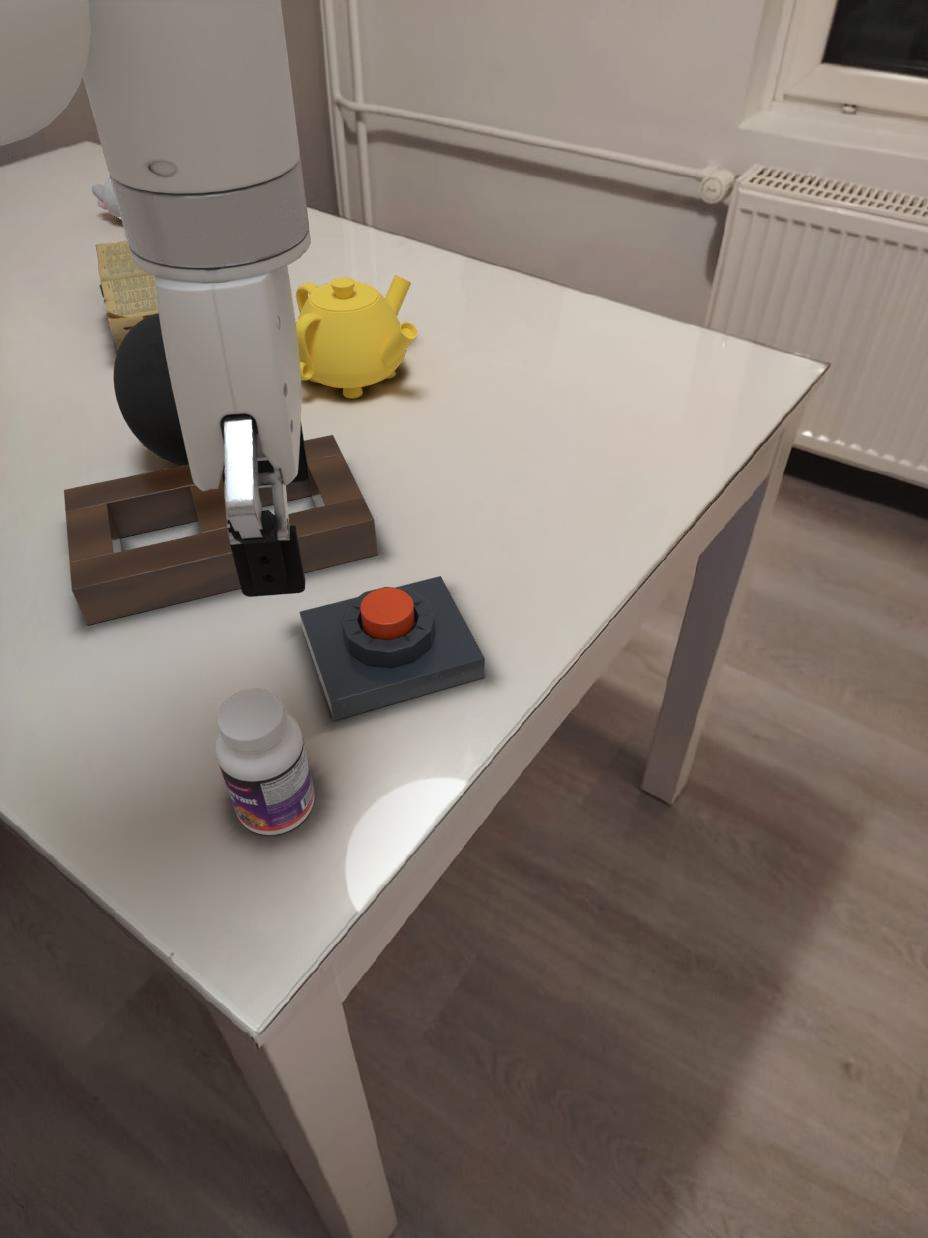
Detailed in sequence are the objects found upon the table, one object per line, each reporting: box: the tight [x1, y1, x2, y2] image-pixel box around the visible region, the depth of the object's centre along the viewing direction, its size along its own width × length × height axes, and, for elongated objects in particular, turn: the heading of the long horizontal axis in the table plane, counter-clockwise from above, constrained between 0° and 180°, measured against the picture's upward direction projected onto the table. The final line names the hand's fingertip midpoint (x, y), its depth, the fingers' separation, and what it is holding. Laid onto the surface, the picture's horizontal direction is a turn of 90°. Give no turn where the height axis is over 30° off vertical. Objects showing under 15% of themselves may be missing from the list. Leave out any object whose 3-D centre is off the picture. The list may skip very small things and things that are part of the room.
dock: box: [63, 434, 379, 626], centre depth 78 cm, size 14×25×4 cm, turn 111°
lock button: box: [360, 587, 414, 640], centre depth 66 cm, size 4×4×2 cm
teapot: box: [295, 274, 419, 399], centre depth 96 cm, size 14×14×11 cm
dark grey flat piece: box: [299, 575, 486, 722], centre depth 67 cm, size 12×10×4 cm
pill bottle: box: [214, 688, 316, 836], centre depth 56 cm, size 5×5×10 cm
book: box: [94, 240, 159, 356], centre depth 110 cm, size 25×17×6 cm
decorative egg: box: [112, 313, 189, 466], centre depth 83 cm, size 12×12×15 cm
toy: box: [91, 176, 122, 221], centre depth 131 cm, size 8×7×15 cm
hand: (278, 531), depth 48 cm, fingers open, 9 cm apart
